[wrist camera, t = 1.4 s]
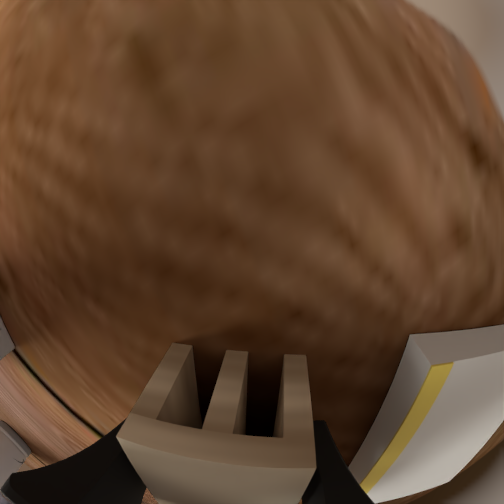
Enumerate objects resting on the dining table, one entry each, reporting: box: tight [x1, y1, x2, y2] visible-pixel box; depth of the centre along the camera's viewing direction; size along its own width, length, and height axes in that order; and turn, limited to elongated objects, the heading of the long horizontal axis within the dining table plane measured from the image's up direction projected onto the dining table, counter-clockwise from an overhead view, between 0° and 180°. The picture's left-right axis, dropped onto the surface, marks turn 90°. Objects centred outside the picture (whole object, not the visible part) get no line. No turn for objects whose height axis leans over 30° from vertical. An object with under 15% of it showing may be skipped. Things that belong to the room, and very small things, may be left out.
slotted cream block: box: [116, 343, 316, 504], centre depth 9 cm, size 12×5×5 cm, turn 178°
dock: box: [348, 324, 504, 503], centre depth 9 cm, size 13×9×2 cm
